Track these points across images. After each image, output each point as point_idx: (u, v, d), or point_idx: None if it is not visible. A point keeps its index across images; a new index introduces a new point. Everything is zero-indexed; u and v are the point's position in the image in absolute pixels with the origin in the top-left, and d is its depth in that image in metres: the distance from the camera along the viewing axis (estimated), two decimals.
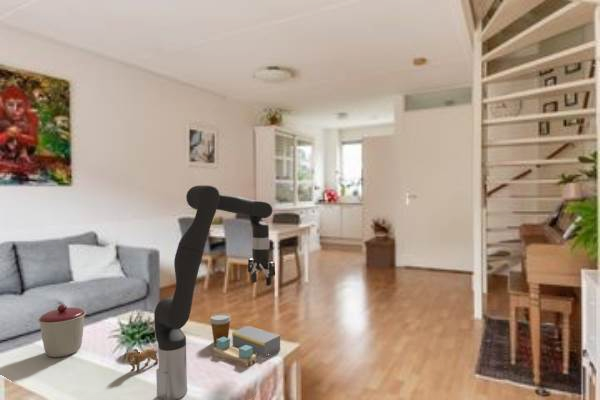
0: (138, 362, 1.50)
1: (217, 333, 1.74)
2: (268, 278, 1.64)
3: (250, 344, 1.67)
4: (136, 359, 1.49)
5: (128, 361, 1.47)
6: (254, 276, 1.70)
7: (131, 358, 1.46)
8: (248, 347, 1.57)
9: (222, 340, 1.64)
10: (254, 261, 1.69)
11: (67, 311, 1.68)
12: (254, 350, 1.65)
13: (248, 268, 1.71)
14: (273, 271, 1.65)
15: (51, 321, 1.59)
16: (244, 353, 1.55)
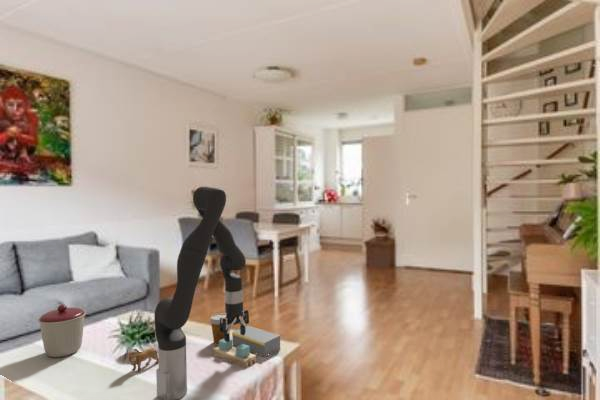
0: (139, 362, 1.50)
1: (217, 333, 1.74)
2: (244, 327, 1.65)
3: (250, 344, 1.67)
4: (137, 359, 1.49)
5: (129, 361, 1.47)
6: None
7: (132, 358, 1.47)
8: (245, 346, 1.58)
9: (224, 341, 1.63)
10: (230, 318, 1.58)
11: (67, 311, 1.68)
12: (254, 350, 1.65)
13: (224, 329, 1.55)
14: (244, 318, 1.67)
15: (51, 321, 1.59)
16: (241, 352, 1.56)
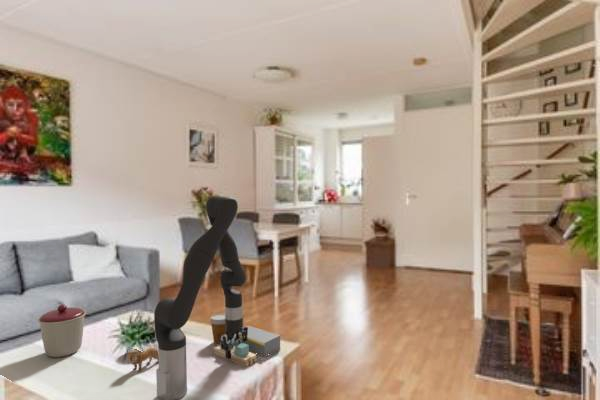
0: (140, 361, 1.51)
1: (217, 333, 1.74)
2: None
3: (250, 344, 1.67)
4: (138, 358, 1.50)
5: (130, 360, 1.47)
6: None
7: (133, 357, 1.47)
8: (244, 345, 1.59)
9: None
10: (230, 334, 1.58)
11: (67, 311, 1.68)
12: (254, 350, 1.65)
13: (225, 346, 1.56)
14: (243, 336, 1.66)
15: (51, 321, 1.59)
16: (240, 351, 1.56)
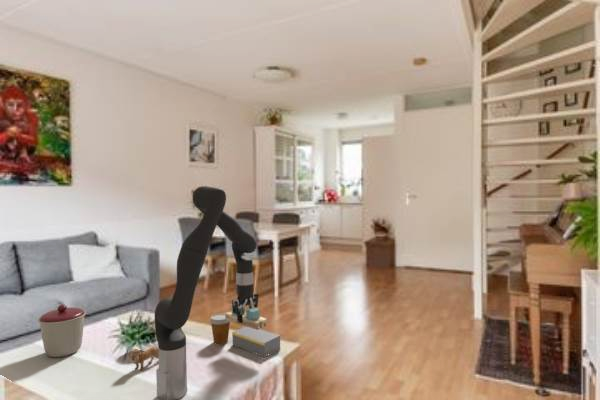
0: (142, 360, 1.51)
1: (217, 333, 1.74)
2: None
3: (250, 344, 1.67)
4: (140, 357, 1.50)
5: (132, 359, 1.48)
6: None
7: (135, 356, 1.48)
8: (255, 309, 1.63)
9: None
10: (241, 299, 1.63)
11: (67, 311, 1.68)
12: (254, 350, 1.65)
13: (237, 310, 1.61)
14: (253, 302, 1.71)
15: (51, 321, 1.59)
16: (251, 315, 1.61)
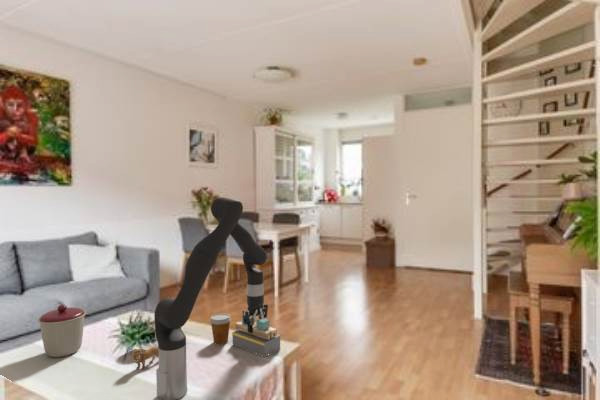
0: (143, 360, 1.52)
1: (217, 333, 1.74)
2: None
3: (250, 344, 1.67)
4: (142, 357, 1.51)
5: (134, 359, 1.49)
6: None
7: (137, 356, 1.48)
8: (265, 320, 1.68)
9: None
10: (252, 309, 1.68)
11: (67, 311, 1.68)
12: (254, 350, 1.65)
13: (247, 321, 1.66)
14: (263, 312, 1.76)
15: (51, 321, 1.59)
16: (261, 325, 1.66)
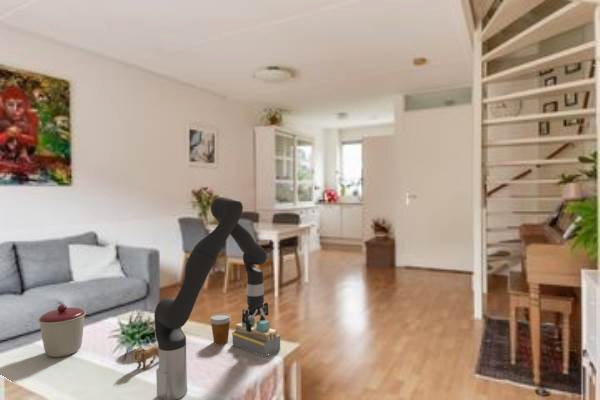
0: (144, 359, 1.52)
1: (217, 333, 1.74)
2: (264, 318, 1.75)
3: (250, 344, 1.67)
4: (142, 356, 1.51)
5: (135, 359, 1.49)
6: None
7: (138, 355, 1.49)
8: (265, 321, 1.68)
9: None
10: (252, 309, 1.68)
11: (67, 311, 1.68)
12: (254, 350, 1.65)
13: (246, 320, 1.65)
14: (264, 310, 1.77)
15: (51, 321, 1.59)
16: (262, 327, 1.66)
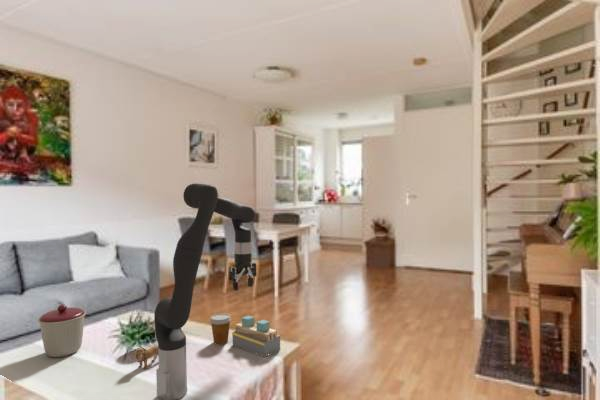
0: (146, 359, 1.53)
1: (217, 333, 1.74)
2: (252, 279, 1.73)
3: (250, 344, 1.67)
4: (144, 356, 1.52)
5: (136, 358, 1.49)
6: None
7: (139, 355, 1.49)
8: (265, 321, 1.68)
9: (247, 318, 1.73)
10: (239, 267, 1.66)
11: (67, 311, 1.68)
12: (254, 350, 1.65)
13: (233, 277, 1.63)
14: (252, 271, 1.75)
15: (51, 321, 1.59)
16: (262, 327, 1.66)
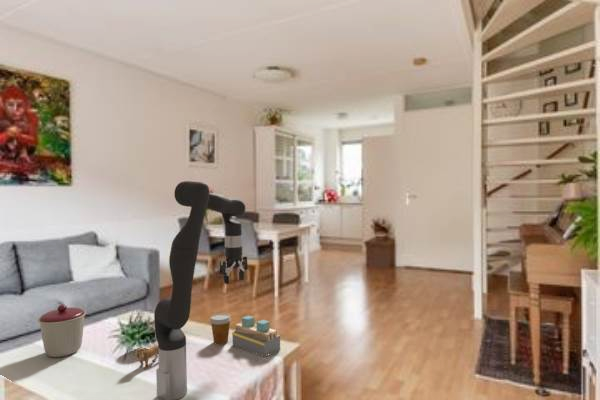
0: (147, 358, 1.53)
1: (217, 333, 1.74)
2: (243, 272, 1.72)
3: (250, 344, 1.67)
4: (145, 355, 1.52)
5: (137, 357, 1.50)
6: None
7: (140, 354, 1.49)
8: (265, 321, 1.68)
9: (247, 318, 1.73)
10: (230, 261, 1.65)
11: (67, 311, 1.68)
12: (254, 350, 1.65)
13: (224, 271, 1.62)
14: (243, 265, 1.74)
15: (51, 321, 1.59)
16: (262, 327, 1.66)
